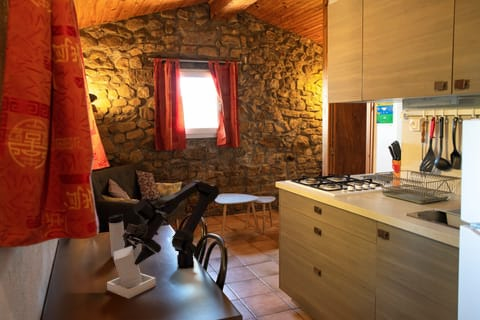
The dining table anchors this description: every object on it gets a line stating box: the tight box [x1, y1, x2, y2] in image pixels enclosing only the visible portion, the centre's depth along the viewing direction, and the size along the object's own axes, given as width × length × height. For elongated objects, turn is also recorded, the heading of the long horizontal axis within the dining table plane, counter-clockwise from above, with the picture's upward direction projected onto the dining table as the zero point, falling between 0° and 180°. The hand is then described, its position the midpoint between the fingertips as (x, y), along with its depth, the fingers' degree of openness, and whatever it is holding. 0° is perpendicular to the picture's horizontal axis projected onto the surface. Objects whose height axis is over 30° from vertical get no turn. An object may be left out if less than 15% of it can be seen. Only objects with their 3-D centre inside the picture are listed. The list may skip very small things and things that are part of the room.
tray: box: [106, 272, 157, 299], centre depth 143 cm, size 13×13×3 cm
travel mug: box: [108, 213, 125, 259], centre depth 176 cm, size 6×7×20 cm
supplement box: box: [113, 246, 142, 288], centre depth 142 cm, size 7×7×13 cm
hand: (128, 261), depth 141 cm, fingers open, 9 cm apart
